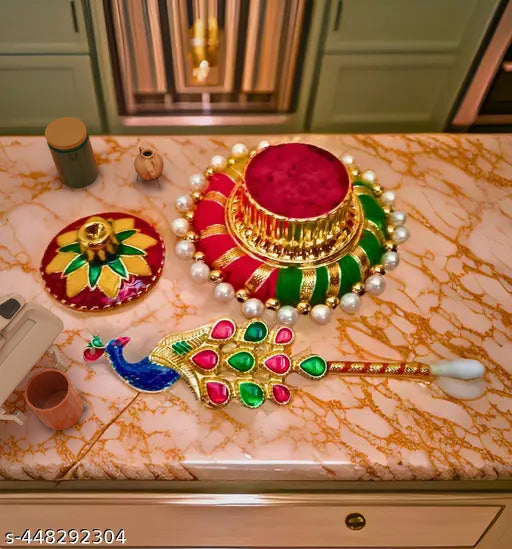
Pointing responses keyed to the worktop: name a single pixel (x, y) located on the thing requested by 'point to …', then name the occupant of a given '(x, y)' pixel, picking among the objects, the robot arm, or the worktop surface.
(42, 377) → the cup
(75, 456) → the worktop surface
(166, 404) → the worktop surface
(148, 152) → the pot
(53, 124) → the jar
